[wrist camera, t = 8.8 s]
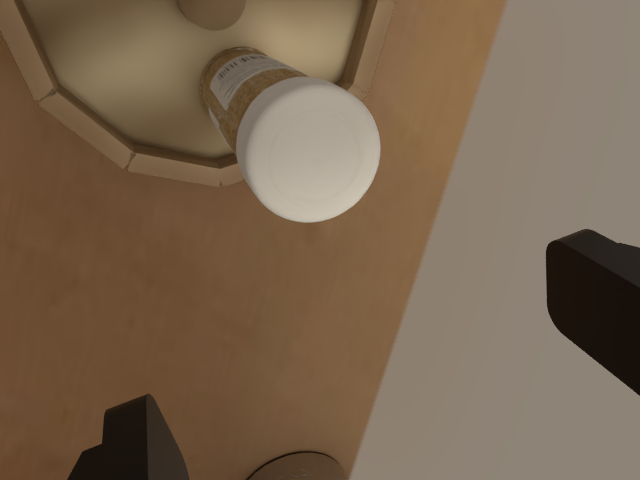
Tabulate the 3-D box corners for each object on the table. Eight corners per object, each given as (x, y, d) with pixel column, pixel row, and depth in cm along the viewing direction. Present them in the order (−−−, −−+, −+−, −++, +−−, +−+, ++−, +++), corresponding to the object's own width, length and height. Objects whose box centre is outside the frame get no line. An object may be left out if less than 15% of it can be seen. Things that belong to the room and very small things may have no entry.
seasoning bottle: (204, 136, 29) (253, 237, 17) (192, 47, 27) (238, 92, 15) (286, 127, 30) (384, 215, 18) (281, 41, 28) (386, 78, 16)
